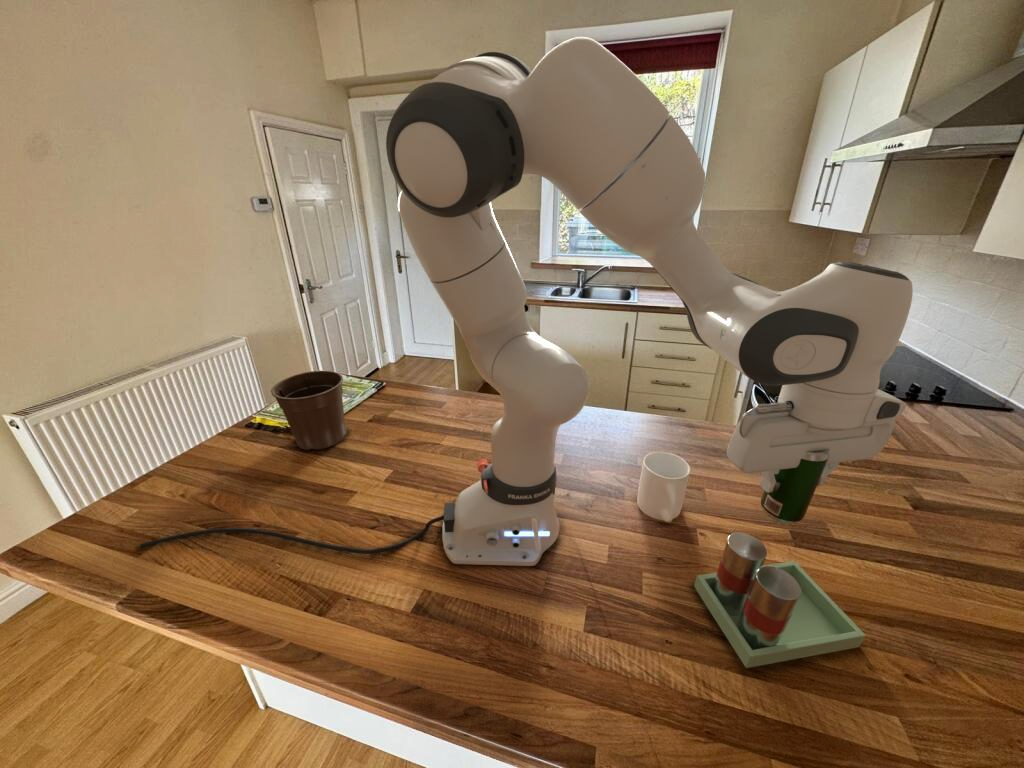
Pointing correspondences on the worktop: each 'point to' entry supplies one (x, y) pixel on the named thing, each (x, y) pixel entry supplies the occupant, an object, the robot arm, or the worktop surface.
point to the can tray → (789, 623)
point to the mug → (662, 485)
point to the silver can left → (738, 571)
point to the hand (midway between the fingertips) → (790, 486)
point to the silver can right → (768, 607)
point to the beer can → (795, 488)
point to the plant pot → (313, 408)
